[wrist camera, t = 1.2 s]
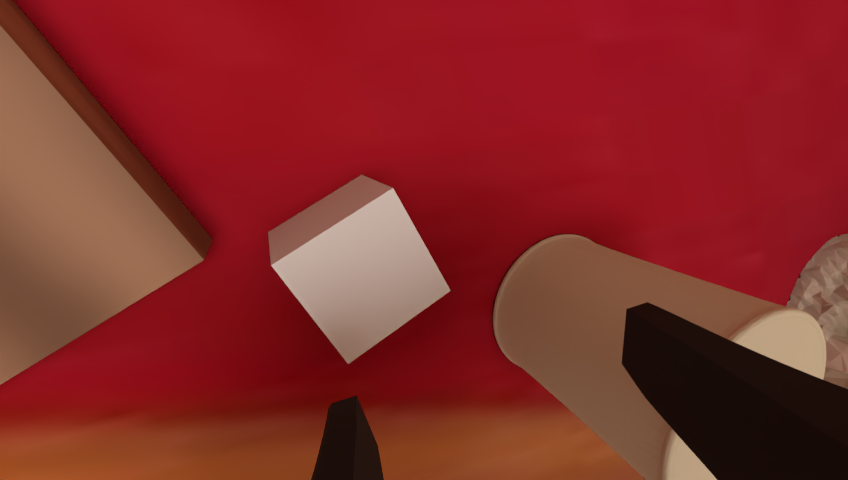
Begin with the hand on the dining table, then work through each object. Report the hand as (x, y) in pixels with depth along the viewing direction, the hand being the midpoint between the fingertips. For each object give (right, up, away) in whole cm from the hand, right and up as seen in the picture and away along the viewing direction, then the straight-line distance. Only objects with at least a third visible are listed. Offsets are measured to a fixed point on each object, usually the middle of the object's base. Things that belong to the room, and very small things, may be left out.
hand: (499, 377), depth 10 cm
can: (+6, 0, +16) cm, 17 cm away
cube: (-6, +3, +9) cm, 11 cm away
